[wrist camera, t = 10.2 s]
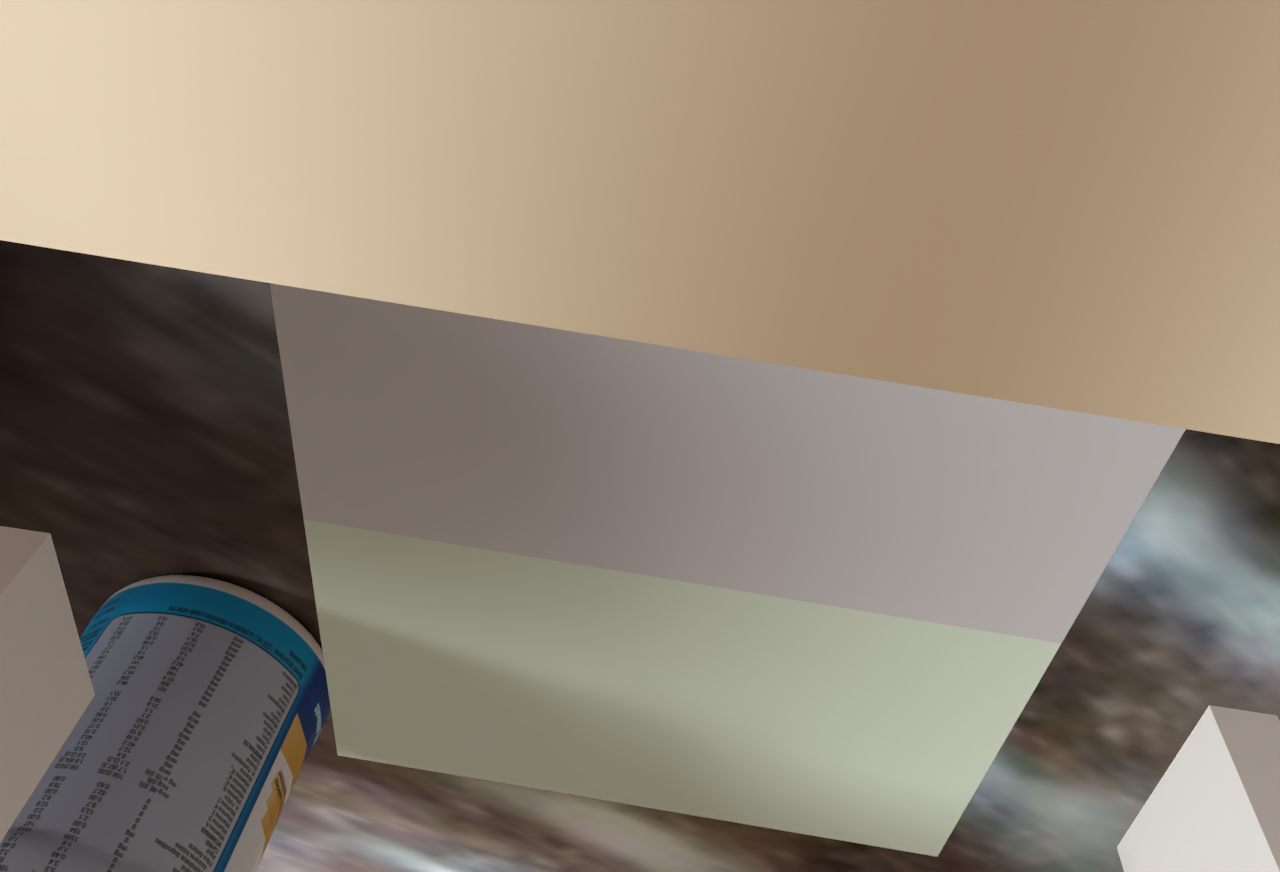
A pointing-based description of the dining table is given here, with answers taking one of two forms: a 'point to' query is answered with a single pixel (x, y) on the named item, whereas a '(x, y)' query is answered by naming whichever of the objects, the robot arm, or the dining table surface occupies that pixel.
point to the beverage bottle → (177, 735)
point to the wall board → (703, 176)
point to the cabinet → (686, 565)
